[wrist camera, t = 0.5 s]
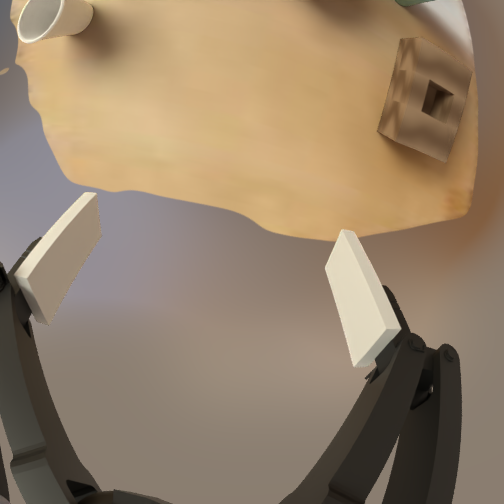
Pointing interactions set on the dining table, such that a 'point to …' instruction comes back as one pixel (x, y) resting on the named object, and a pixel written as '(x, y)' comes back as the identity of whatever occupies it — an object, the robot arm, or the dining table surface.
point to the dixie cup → (53, 19)
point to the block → (425, 98)
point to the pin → (411, 2)
